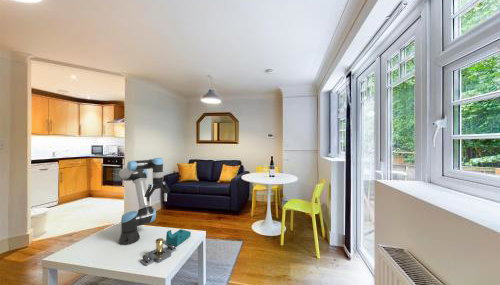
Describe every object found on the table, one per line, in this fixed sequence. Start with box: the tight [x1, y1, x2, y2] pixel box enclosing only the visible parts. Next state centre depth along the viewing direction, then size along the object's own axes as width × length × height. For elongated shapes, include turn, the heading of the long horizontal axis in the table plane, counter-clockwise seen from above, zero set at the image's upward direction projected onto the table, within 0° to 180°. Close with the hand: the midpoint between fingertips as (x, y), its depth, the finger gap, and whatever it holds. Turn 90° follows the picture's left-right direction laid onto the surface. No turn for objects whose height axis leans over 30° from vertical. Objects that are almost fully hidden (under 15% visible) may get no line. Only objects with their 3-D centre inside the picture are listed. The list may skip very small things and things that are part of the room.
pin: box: [155, 237, 164, 256], centre depth 145 cm, size 5×5×12 cm
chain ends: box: [140, 244, 177, 267], centre depth 145 cm, size 14×23×4 cm, turn 145°
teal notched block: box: [165, 228, 192, 247], centre depth 167 cm, size 18×11×10 cm, turn 161°
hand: (157, 203), depth 159 cm, fingers open, 13 cm apart
